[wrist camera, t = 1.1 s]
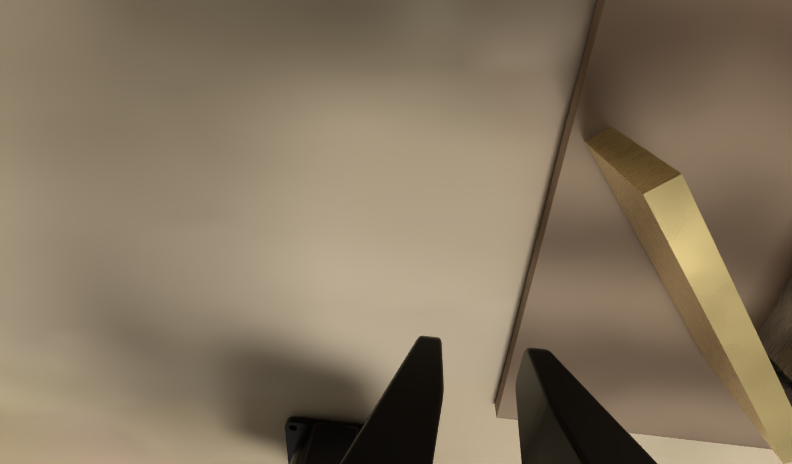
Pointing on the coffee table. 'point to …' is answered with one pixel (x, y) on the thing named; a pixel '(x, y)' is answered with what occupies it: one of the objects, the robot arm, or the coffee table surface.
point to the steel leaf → (780, 338)
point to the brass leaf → (696, 280)
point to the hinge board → (709, 185)
